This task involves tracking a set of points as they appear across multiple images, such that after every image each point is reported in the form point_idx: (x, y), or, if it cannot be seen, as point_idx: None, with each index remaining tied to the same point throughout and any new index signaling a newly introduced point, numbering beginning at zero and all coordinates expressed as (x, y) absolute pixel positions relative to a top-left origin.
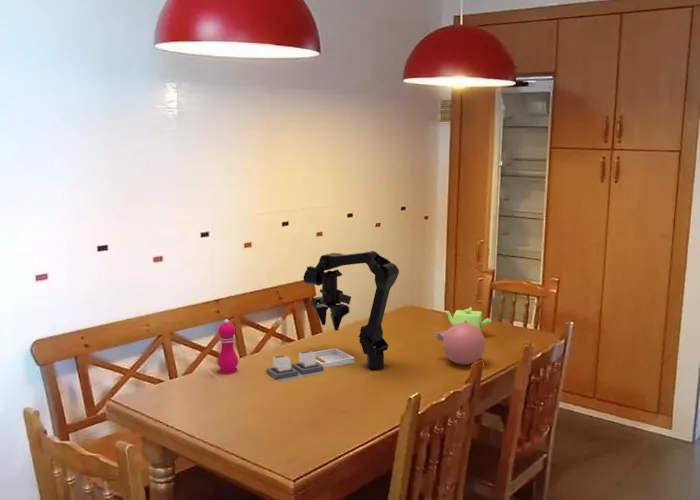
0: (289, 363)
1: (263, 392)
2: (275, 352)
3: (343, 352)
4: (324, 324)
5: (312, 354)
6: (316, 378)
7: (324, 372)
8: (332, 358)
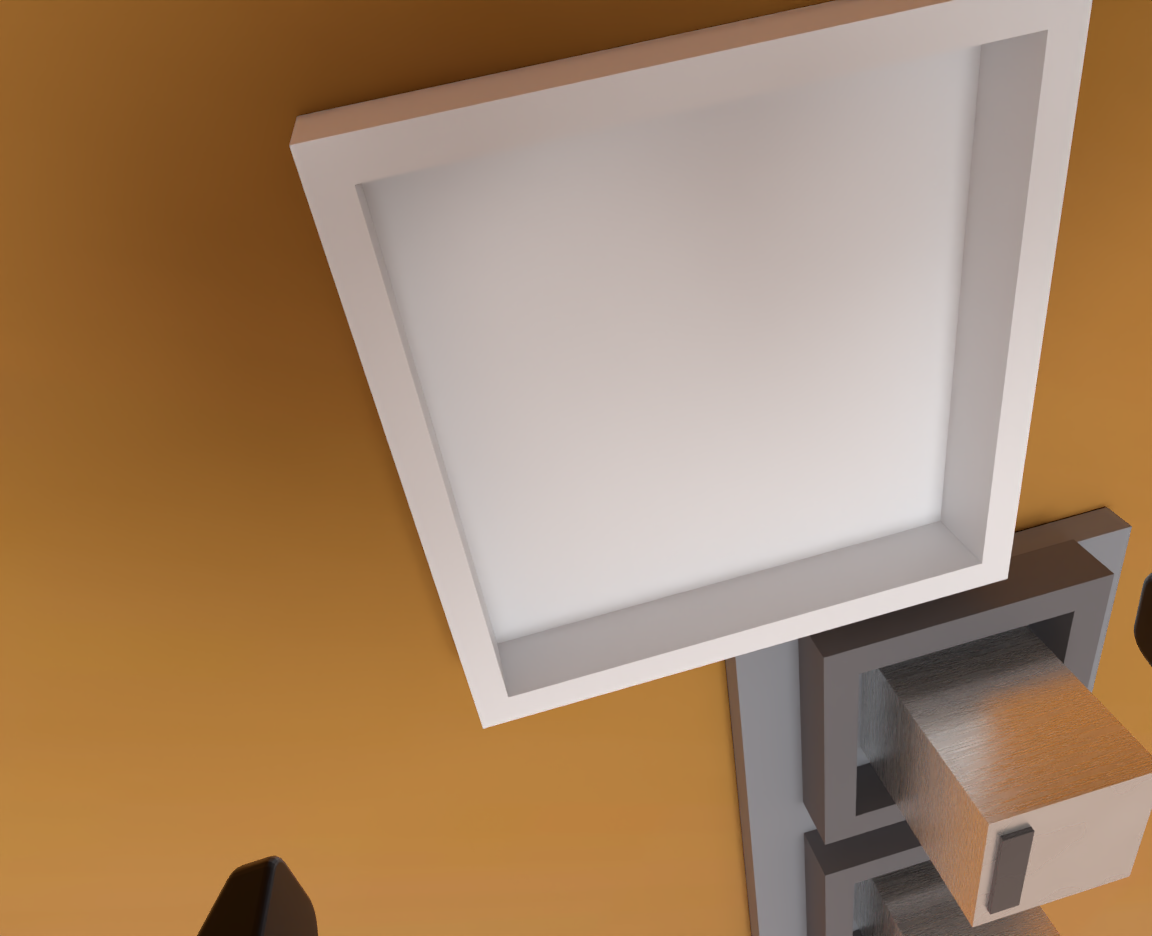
0: (1052, 933)
1: (1098, 924)
2: (20, 916)
3: (672, 85)
4: (292, 887)
5: (1144, 805)
6: (1121, 601)
7: (1128, 536)
8: (622, 294)
